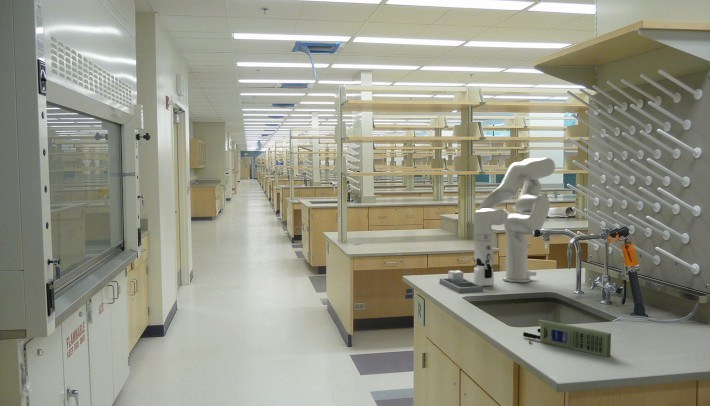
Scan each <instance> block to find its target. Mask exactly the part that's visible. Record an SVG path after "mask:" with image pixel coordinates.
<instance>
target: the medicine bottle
mask: <svg viewBox="0 0 710 406" xmlns="http://www.w3.org/2000/svg"><path fill="white" fill-rule="evenodd" d="M476 262H477V267H475V266H474V267H473V278H474V280H473V281H474V283H476V284H478V285H481V286H483V287H484V286H485V287H487V286H494V285H495V284H494V281H495V280H494V278H495V277H494V274H495V273H494V268H492V278H485V265H484V264H483V263H482V262H481V260H480V259H479V258H477V259H476ZM486 262H488V261H486ZM487 266H488V264H487Z"/></svg>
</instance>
